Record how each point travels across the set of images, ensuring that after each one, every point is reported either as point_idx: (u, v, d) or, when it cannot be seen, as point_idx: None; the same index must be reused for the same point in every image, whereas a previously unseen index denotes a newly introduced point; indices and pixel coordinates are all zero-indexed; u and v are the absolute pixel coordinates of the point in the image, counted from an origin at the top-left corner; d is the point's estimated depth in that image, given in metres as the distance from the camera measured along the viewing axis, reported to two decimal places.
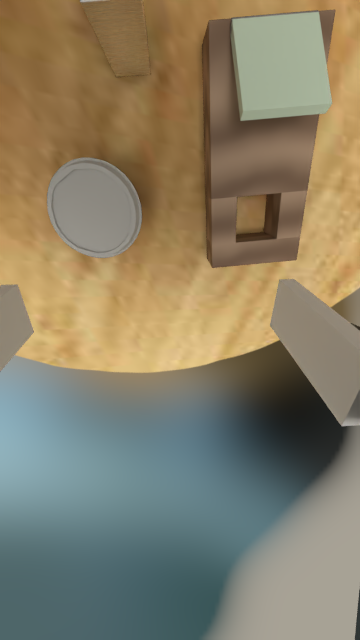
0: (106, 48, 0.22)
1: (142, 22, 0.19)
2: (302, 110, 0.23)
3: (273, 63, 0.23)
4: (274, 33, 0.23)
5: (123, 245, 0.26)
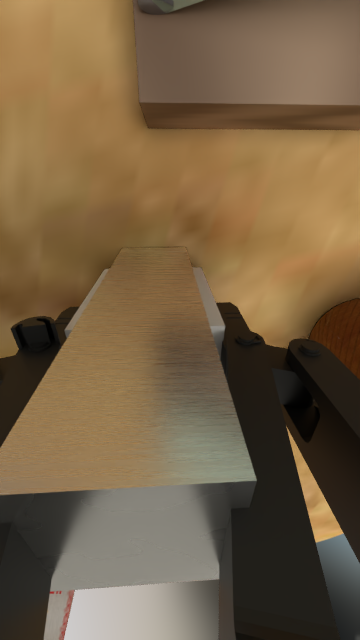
0: None
1: None
2: None
3: None
4: None
5: None
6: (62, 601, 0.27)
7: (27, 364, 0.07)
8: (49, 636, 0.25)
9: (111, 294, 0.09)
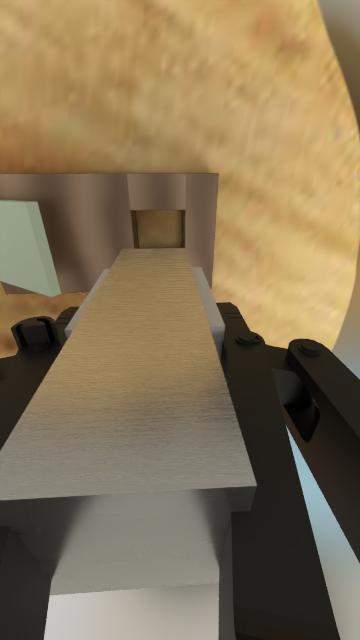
0: None
1: None
2: (39, 234, 0.21)
3: (13, 256, 0.23)
4: None
5: None
6: None
7: (27, 364, 0.07)
8: None
9: (111, 295, 0.09)
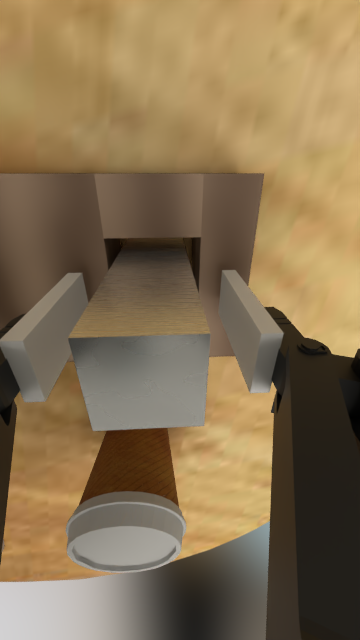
0: None
1: None
2: None
3: None
4: None
5: (168, 535, 0.18)
6: None
7: None
8: None
9: (125, 263, 0.13)
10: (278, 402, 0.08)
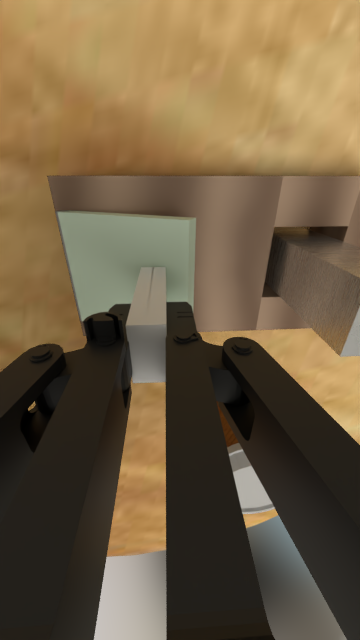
0: None
1: None
2: (191, 264, 0.14)
3: (127, 293, 0.17)
4: (91, 280, 0.17)
5: None
6: None
7: (94, 357, 0.07)
8: None
9: (304, 245, 0.17)
10: None
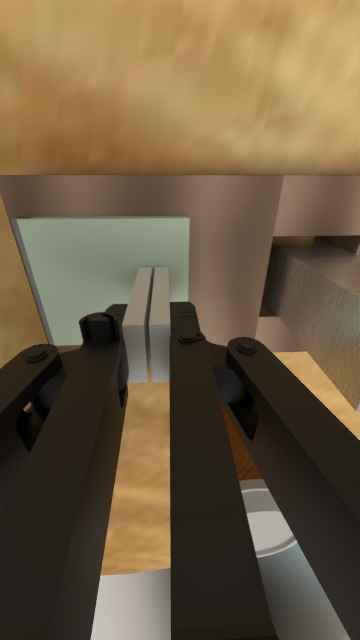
0: None
1: None
2: None
3: (119, 300, 0.15)
4: (69, 295, 0.15)
5: None
6: None
7: (90, 357, 0.07)
8: None
9: (310, 259, 0.14)
10: None
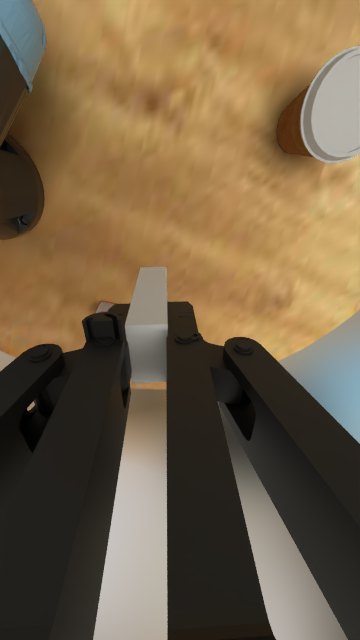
0: None
1: None
2: None
3: None
4: None
5: None
6: None
7: (93, 357, 0.07)
8: None
9: None
10: None
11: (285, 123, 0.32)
